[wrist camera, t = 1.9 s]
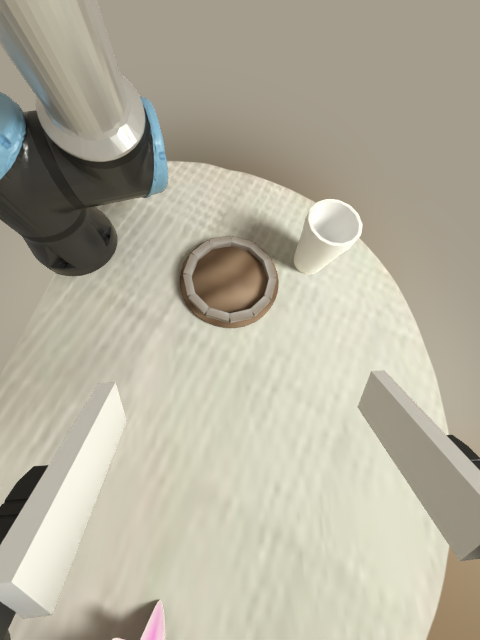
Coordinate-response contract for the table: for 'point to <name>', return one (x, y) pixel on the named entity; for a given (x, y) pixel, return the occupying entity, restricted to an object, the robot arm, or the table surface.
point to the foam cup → (326, 234)
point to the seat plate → (229, 282)
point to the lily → (154, 625)
